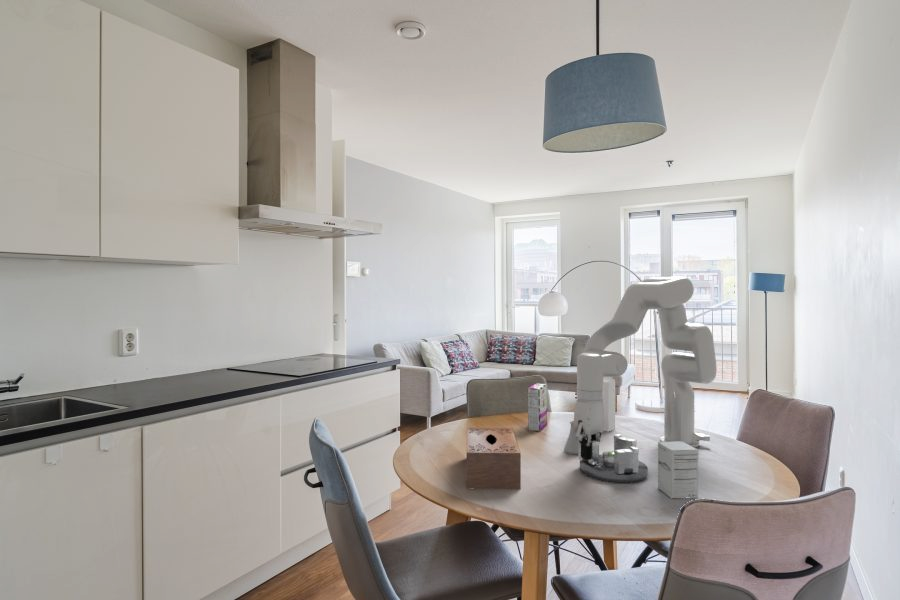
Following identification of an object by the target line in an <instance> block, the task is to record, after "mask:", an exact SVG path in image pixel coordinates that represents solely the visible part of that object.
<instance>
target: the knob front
mask: <svg viewBox="0 0 900 600" xmlns="http://www.w3.org/2000/svg"><path fill="white" fill-rule="evenodd" d="M590 446H591V459H590V460H588V459H585V458H581V444H580V442H579V440H578V454H577V455H578V458H577V459H578V460H579V461H580V460H582V462H584V463H589V464H591V465H595V464H599V455H600V442H599V441H591V440H590Z"/></svg>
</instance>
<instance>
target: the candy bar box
mask: <svg viewBox="0 0 900 600" xmlns="http://www.w3.org/2000/svg"><path fill="white" fill-rule="evenodd" d="M547 387H548V386H547V384H546V383H535V384H533V385H531V386H529V387H527V408H528V409H527V416H528V421H527V423H528V425H527V427H528V431H530V432H533V431H534V432H541V431H542V430H543V429H544V428H545V427H546V426H547V425H548V394H547V393H548V392H547V391H548V389H547Z"/></svg>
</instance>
